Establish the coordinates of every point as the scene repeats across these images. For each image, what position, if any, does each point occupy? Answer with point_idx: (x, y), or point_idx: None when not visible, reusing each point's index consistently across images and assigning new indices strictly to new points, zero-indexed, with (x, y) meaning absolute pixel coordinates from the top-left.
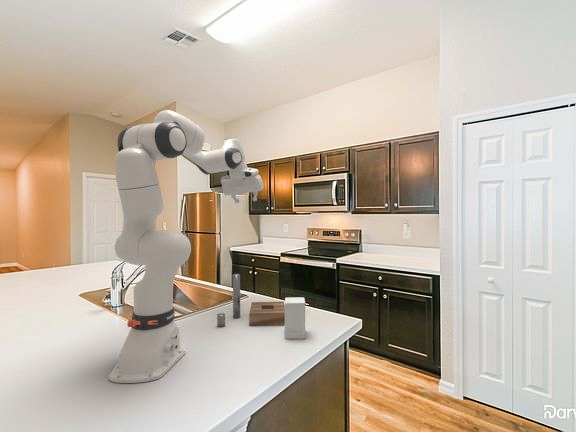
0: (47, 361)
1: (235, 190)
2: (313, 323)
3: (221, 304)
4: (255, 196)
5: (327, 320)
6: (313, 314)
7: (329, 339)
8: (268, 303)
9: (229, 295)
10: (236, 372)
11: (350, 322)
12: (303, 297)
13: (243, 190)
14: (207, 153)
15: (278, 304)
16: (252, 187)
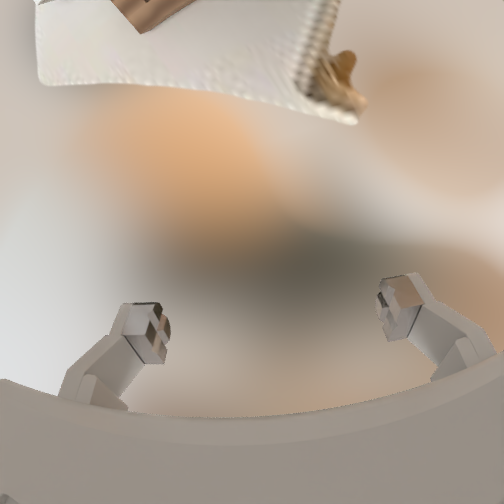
0: None
1: (441, 454)
2: (78, 26)
3: (328, 16)
4: (95, 344)
5: (68, 51)
6: (99, 58)
7: None
8: (163, 3)
9: (348, 83)
10: None
11: (43, 69)
12: (37, 4)
13: (229, 473)
14: None
15: (138, 11)
16: (37, 458)
